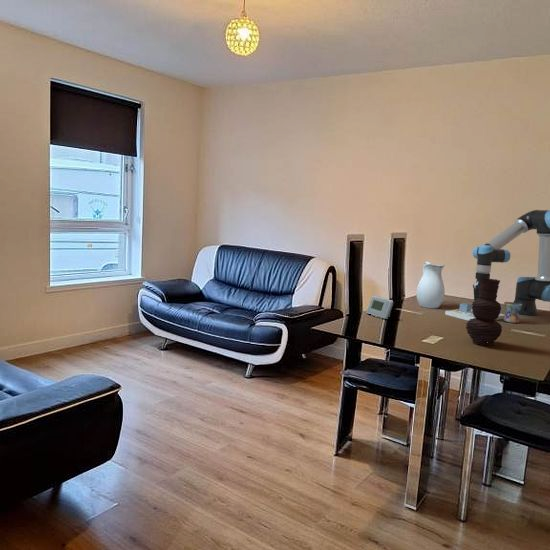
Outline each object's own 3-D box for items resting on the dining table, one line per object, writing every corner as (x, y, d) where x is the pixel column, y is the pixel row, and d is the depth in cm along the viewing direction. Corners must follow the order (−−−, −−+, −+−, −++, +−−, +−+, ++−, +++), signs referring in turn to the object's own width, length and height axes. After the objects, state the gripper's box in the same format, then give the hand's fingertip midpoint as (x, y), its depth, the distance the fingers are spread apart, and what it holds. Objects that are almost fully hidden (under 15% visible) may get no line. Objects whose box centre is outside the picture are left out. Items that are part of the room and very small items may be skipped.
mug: (517, 324, 273) (520, 306, 272) (500, 321, 279) (502, 303, 278) (522, 321, 283) (524, 303, 281) (505, 318, 288) (507, 300, 287)
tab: (463, 310, 294) (464, 302, 294) (470, 311, 290) (471, 303, 289) (459, 310, 292) (460, 302, 291) (466, 312, 288) (467, 304, 287)
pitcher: (446, 310, 303) (451, 265, 299) (419, 308, 303) (423, 263, 299) (434, 302, 326) (439, 261, 323) (409, 301, 327) (413, 259, 323)
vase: (482, 349, 217) (490, 282, 213) (456, 339, 231) (464, 276, 227) (507, 347, 223) (516, 282, 219) (481, 338, 237) (488, 276, 233)
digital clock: (364, 313, 277) (366, 295, 276) (378, 313, 281) (380, 295, 279) (380, 320, 262) (382, 301, 261) (394, 320, 266) (396, 300, 264)
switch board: (476, 311, 306) (477, 306, 305) (506, 318, 289) (507, 313, 289) (445, 314, 289) (445, 309, 289) (474, 322, 273) (475, 317, 272)
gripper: (484, 271, 285) (479, 311, 288) (470, 271, 278) (465, 312, 281) (496, 273, 279) (491, 313, 282) (481, 273, 272) (477, 315, 275)
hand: (478, 313), depth 282 cm, fingers closed
